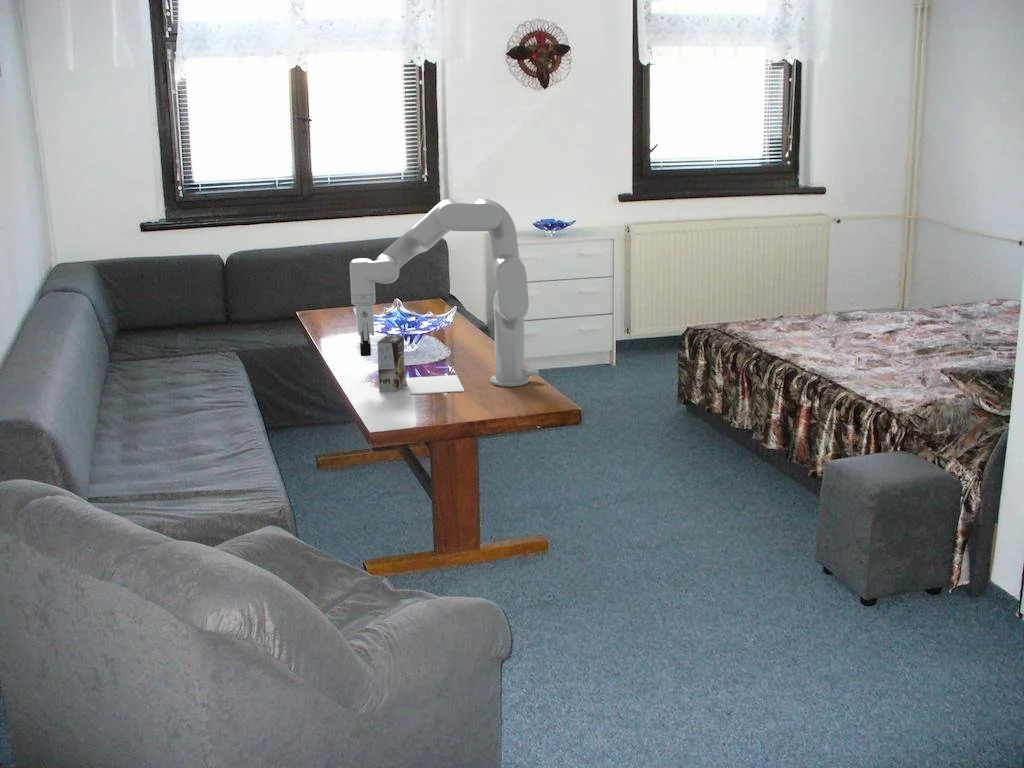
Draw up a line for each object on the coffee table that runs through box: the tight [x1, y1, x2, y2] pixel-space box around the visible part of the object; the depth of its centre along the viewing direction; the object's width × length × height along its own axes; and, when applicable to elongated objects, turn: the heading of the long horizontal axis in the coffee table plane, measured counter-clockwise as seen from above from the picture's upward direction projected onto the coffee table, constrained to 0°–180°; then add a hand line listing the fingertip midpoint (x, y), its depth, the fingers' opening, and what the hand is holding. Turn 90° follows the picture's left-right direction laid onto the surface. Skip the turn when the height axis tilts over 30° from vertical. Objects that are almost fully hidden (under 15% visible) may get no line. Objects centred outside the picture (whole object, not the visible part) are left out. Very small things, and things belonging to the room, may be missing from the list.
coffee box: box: [377, 335, 406, 393], centre depth 353 cm, size 9×6×16 cm
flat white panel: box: [405, 374, 465, 395], centre depth 357 cm, size 17×18×1 cm
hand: (365, 355), depth 351 cm, fingers closed
